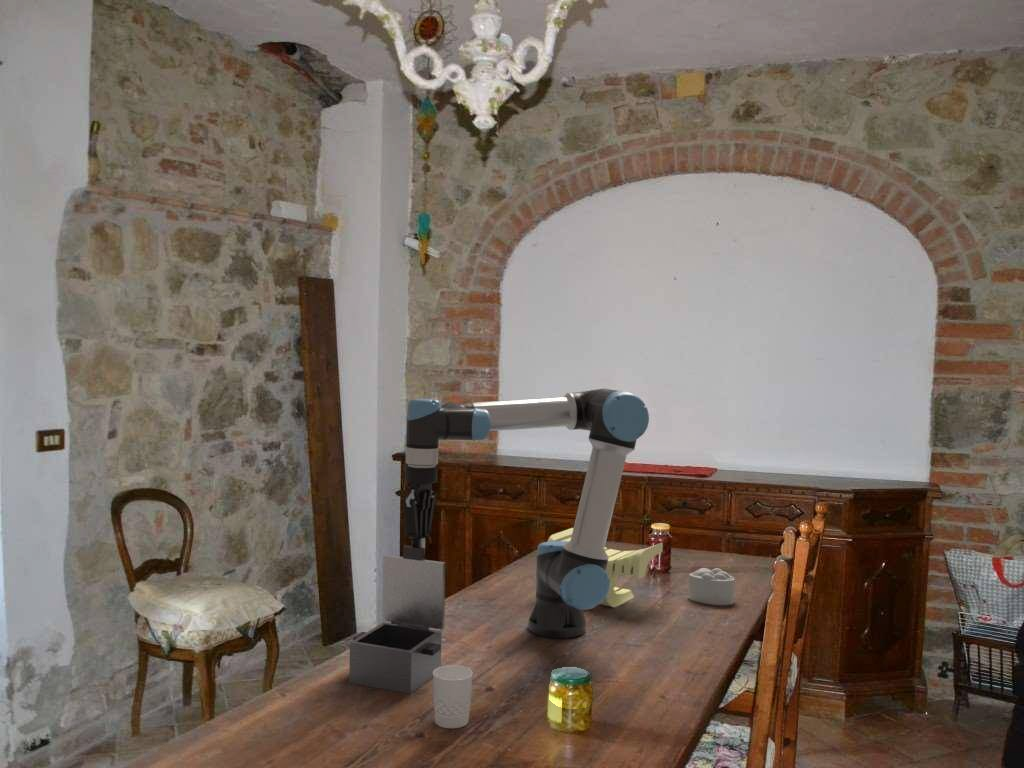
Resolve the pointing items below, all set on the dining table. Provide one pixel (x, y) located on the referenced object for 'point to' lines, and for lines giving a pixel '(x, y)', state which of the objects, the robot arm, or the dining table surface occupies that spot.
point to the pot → (394, 657)
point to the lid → (414, 589)
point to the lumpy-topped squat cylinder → (711, 587)
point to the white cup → (452, 695)
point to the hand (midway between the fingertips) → (417, 565)
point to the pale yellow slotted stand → (619, 567)
